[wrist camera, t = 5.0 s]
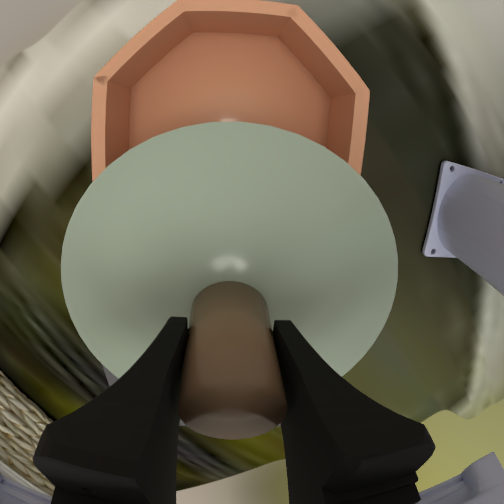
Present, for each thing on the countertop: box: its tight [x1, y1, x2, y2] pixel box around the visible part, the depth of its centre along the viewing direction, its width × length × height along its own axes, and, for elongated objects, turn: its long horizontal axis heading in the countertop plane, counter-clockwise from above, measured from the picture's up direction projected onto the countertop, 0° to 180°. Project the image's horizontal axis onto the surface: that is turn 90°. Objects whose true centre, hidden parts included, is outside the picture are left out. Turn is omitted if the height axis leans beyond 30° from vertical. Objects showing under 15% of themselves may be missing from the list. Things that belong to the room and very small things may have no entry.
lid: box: [61, 121, 398, 439], centre depth 10 cm, size 15×15×6 cm
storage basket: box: [0, 370, 55, 497], centre depth 23 cm, size 24×16×15 cm
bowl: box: [91, 0, 370, 181], centre depth 16 cm, size 14×14×4 cm
